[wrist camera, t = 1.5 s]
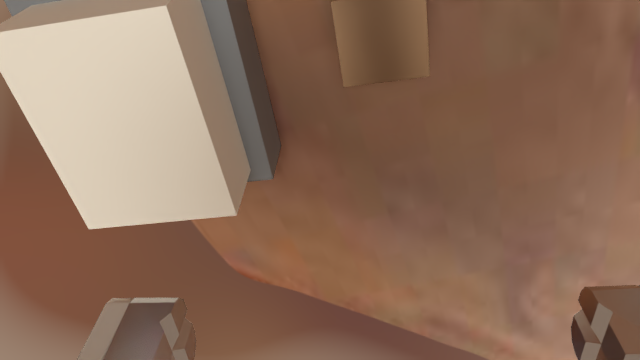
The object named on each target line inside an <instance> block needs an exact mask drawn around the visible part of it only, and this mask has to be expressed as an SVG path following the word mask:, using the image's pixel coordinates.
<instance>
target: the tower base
mask: <svg viewBox="0 0 640 360" xmlns="http://www.w3.org/2000/svg"><path fill="white" fill-rule="evenodd" d="M4 1H5V3H6V5H7V7H8V9H9V11H10V13H11V15H12V16H14V15H16V14H18V13H19V12H21V11H23V10H24V9H26V8H28V7H30V6H31V5H37V4H43V3H49V2H55V1H61V0H4ZM200 1H201V4H202V8H203V11H204V14H205V18H206V21H207V25H208V28H209V31H210V35H211V38H212V41H213V45H214V48H215V51H216V55H217V58H218V62H219V65H220V68H221V72H222V75H223V78H224V82H225V85H226V88H227V92H228V95H229V99H230V102H231V105H232V109H233V112H234V115H235V119H236V122H237V126H238V129H239V132H240V136H241V139H242V142H243V146H244V149H245V152H246V156H247V159H248V163H249V166H250V169H251V171H250V174H249V177H248V181H247V182H250V181H260V180H270V179H273V178H274V173H275V169H276V165H277V161H278V157H279V152H280V148H281V143H280V139H279V135H278V131H277V127H276V122H275V118H274V114H273V110H272V106H271V102H270V97H269V93H268V89H267V85H266V81H265V77H264V72H263V68H262V64H261V60H260V56H259V52H258V47H257V43H256V39H255V35H254V31H253V27H252V22H251V18H250V14H249V10H248V6H247V2H246V0H200Z"/></svg>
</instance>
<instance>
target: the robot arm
mask: <svg viewBox="0 0 640 360" xmlns="http://www.w3.org/2000/svg"><path fill="white" fill-rule="evenodd" d="M578 301H579V303H580V305H581V307H582V310H580V311H579V312H578V313H576V314H575V315H574V317H573V321H572V326H571V335H572V343H573V347H574V351H575V354H576V356H577V358H578V360H640V285H638V286H637V285H622V286H595V287H584V289H583V290H582V291H581V293H580V296H579V299H578ZM186 312H187V307H186V305H185V302H184V300H183V299H181V298H112V299H111V300H110V301H109V302H107V303H106V305H105V307H104V309H103V310H102V312H101V315H100V316H99V318H98V320H97V322H96V324H95V326H94V328H93V330H92V331H91V333H90V335H89V337H88V339H87V341H86V343H85V345H84V347H83V349H82V351H81V353H80V355H79V357H78V358H77V360H194V357H195V348H196V337H195V330H194V327H193V324H192V323H191V322H189V321H188V320H187V319H185V315H186Z"/></svg>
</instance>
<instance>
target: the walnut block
mask: <svg viewBox="0 0 640 360" xmlns="http://www.w3.org/2000/svg"><path fill="white" fill-rule="evenodd" d="M331 8H332V15H333V21H334V28H335V34H336V41H337V48H338V54H339V61H340V67H341V74H342V81H343V87H350V86H358V85H366V84H374V83H382V82H390V81H398V80H406V79H413V78H421V77H429V76H430V69H429V48H428V26H427V5H426V0H331Z"/></svg>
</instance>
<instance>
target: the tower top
mask: <svg viewBox="0 0 640 360" xmlns="http://www.w3.org/2000/svg"><path fill="white" fill-rule="evenodd" d="M0 72H1V73H2V75H3V77H4V79H5V81H6V83H7V84H8V86H9V88H10V90H11V91H12V93H13V95H14V97H15V99H16V100H17V102H18V104H19V106H20V107H21V109H22V111H23V113H24V115H25V116H26V118H27V120H28V122H29V123H30V125H31V127H32V129H33V131H34V132H35V134H36V136H37V138H38V139H39V141H40V143H41V145H42V146H43V148H44V150H45V152H46V154H47V156H48V157H49V159H50V161H51V163H52V164H53V166H54V168H55V170H56V171H57V173H58V175H59V177H60V178H61V180H62V182H63V184H64V186H65V188H66V189H67V191H68V193H69V195H70V196H71V198H72V200H73V202H74V204H75V205H76V207H77V209H78V210H79V212H80V214H81V216H82V218H83V220H84V221H85V223H86V225H87V227H88V228H89V229H97V228H107V227H118V226H128V225H140V224H150V223H161V222H171V221H182V220H193V219H204V218H214V217H225V216H236V215H237V213H238V210H239V207H240V203H241V200H242V197H243V194H244V190H245V187H246V184H247V181H248V177H249V174H250V171H251V169H250V166H249V163H248V159H247V156H246V152H245V149H244V146H243V142H242V139H241V136H240V132H239V129H238V126H237V122H236V119H235V115H234V112H233V109H232V105H231V102H230V99H229V95H228V92H227V88H226V85H225V82H224V78H223V75H222V72H221V68H220V65H219V62H218V58H217V55H216V51H215V48H214V45H213V41H212V38H211V35H210V31H209V28H208V25H207V21H206V18H205V14H204V11H203V8H202V4H201V1H200V0H61V1H55V2H49V3H43V4H37V5H31V6H30V7H28V8H26V9H24V10H23V11H21V12H19V13H18V14H16V15H14V16H12V17H11V18H9V19H7V20H5V21H4V22H2V23H0Z"/></svg>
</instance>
